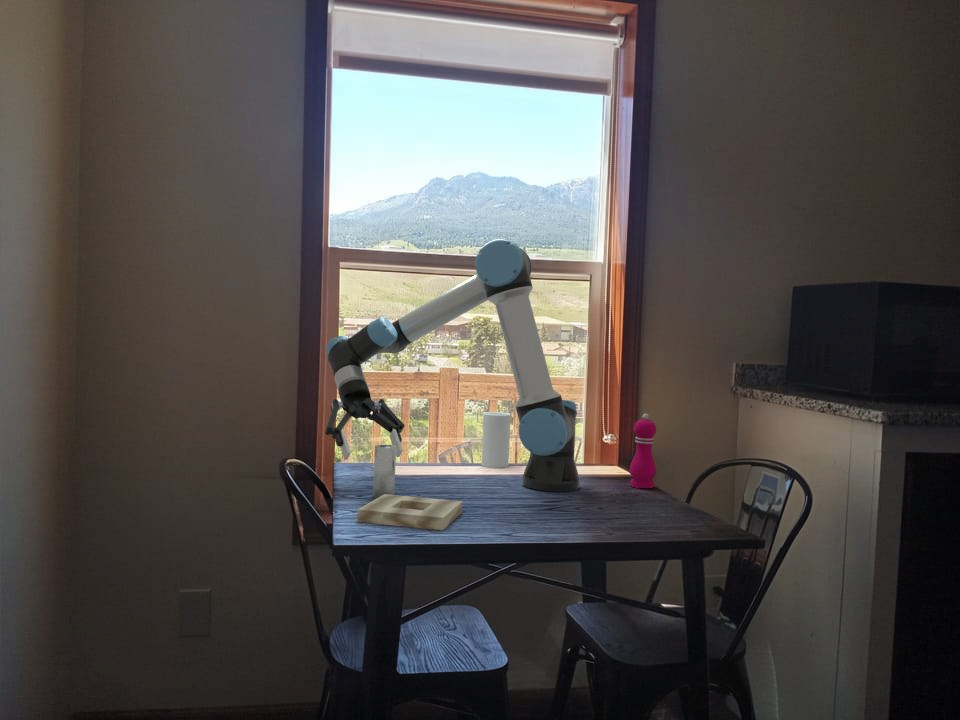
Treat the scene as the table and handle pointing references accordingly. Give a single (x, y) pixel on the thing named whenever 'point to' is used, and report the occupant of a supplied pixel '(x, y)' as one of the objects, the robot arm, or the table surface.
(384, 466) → the tall grey pillar
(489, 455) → the cup
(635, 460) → the pepper mill
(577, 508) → the table surface
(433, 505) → the frame
